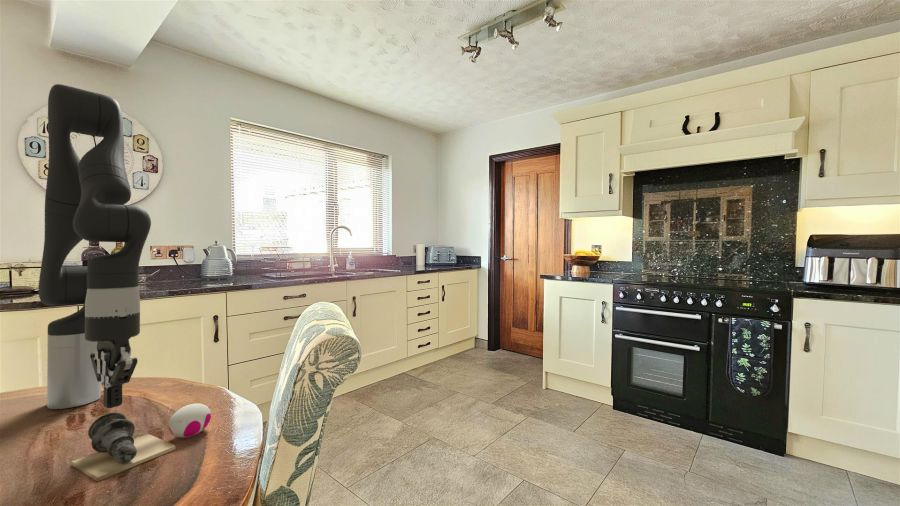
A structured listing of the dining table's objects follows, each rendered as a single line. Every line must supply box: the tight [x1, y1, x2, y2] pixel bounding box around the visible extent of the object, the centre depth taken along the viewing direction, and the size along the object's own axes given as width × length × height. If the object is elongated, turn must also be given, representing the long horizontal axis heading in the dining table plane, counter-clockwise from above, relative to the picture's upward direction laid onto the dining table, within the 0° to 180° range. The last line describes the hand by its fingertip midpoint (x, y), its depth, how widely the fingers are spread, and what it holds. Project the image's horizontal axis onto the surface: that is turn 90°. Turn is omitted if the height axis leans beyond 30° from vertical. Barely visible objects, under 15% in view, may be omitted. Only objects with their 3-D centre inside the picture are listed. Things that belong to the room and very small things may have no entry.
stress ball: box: [168, 403, 212, 438], centre depth 74 cm, size 8×8×7 cm
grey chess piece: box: [87, 412, 137, 464], centre depth 64 cm, size 6×6×12 cm
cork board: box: [71, 433, 177, 482], centre depth 65 cm, size 10×11×1 cm
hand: (113, 406), depth 68 cm, fingers closed
